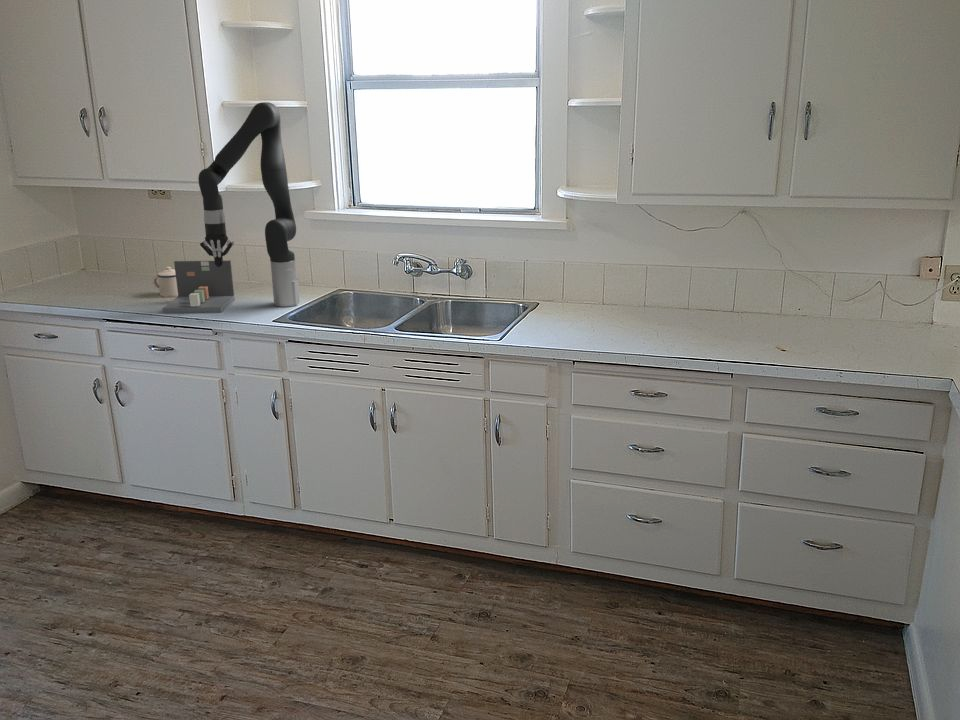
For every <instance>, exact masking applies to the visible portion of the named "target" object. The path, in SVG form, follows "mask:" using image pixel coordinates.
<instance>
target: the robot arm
mask: <svg viewBox="0 0 960 720" xmlns="http://www.w3.org/2000/svg"><path fill="white" fill-rule="evenodd" d="M281 126H282V125H281V112H280V110H279V108H278V107H277V106H276V105H275V104H274V103H271V102H269V101H265V102H258V103H256V104H255V105H254V106H253V107H252V109H251V110H250V112H249V114H248V116H247V117H246V118H245V121H244V122H243V124H242V125H241V126H240V128H239V129H238V131H236V133H235V134H234V135H233V136H232V137H231V139H230V140H229V141H228V142H227V143H226V144H225V145H224V146H223V148H221V149H220V150H219V152H218V153H217V154H216V155H215V157H214V160H213V162H211V164H210V165H209V166H207V167H206V168H204V169H202V170H200V172H199V174H198V177H197V178H198V186H199V191H200V193H201V197H202V204H203V222H204V230H205V231H204V232H205V237H204V240H203V241H202V242H200V244H199V246H200V247H201V248H202V249H203V250H204V251H205V253H206V254H207V255H208V256H210V257H211V256H212V257H213V258H214V260H213V261H215V265H217V267H221V266H222V265H223V260H224V259H223V257H224V256H226V255H227V254H228V253H229V252H230V250H231V249H232V247H233V246H234V244H235V241H231V240H229V237H228V236H227V228H226V218H225V217H226V216H225V213H224V204H223V203H224V202H223V198H222V195H221V193H220V192H219V186H218V185H219V184H221V183H222V182H223V180H224V179H225V178H226V177H227V175H228V173H229V172H230V170H232V168H233V167H234V166H235V165H236V164H237V163H238V162H239V161H240V160H241V159H242V157H243V156H244V155H245V153H246V151H247V150H248V148H249V146H250V145H251V144H252V143H253V141H254V140H255V139H256V138H257V137H258V136H259V135H260V136H261V151H260V173H261V180H262V185H263V187H264V190H265V191H266V192H267V194H268V196H269V198H270V199H271V201H272V204H273V208H274V216H275V217H274V218H275V219H274V218H273V219H271V220H269V221H268V222H267V223H266V225H265V226H264V237H265V245H266V251H267V255H268V257H269V259H270V260H269V261H270V271H271V272H270V274H271V284H272V294H273V295H272V296H273V305H274V306H275V307H293V306H297V305H298V304H299V303H300V293H299V292H300V290H299V281H298V278H297V273H296V259H295V257H296V256H295V252H294V251H292V250H290V249H289V245H288V242H290V241H291V240H293V239H294V238H295V237H296V234H297V225H296V220H295V215H294V211H293V208H292V207H293V206H292V202H291V197H290V196H291V194H290V191H289V190H290V189H289V179H288V172H287V166H286V162H285V161H286V160H285V155H284V154H285V153H284V149H283V143H282V133H281V130H282V128H281ZM225 245H226V248H225V249H224V247H225Z"/></svg>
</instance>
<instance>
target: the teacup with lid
mask: <svg viewBox="0 0 960 720" xmlns="http://www.w3.org/2000/svg"><path fill="white" fill-rule="evenodd" d="M156 275H157V276H155V277H154V278H153V284H154V286H155V288H157V289H159V294H160V297H163V298H174V297H175V298H177V297H178V290H177V282H176V273H175V268H172V267H171V266H165V268H164V269H163V270H161V271H160V272H158V273H156ZM157 280H158V282H157Z"/></svg>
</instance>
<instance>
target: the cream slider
mask: <svg viewBox="0 0 960 720" xmlns="http://www.w3.org/2000/svg"><path fill="white" fill-rule="evenodd" d="M189 299H190V306H199V305H200V297H199V293H191V294H189Z"/></svg>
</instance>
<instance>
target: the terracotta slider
mask: <svg viewBox="0 0 960 720" xmlns="http://www.w3.org/2000/svg"><path fill="white" fill-rule="evenodd" d="M198 290H204V297H205V299H208V298H209V293H208V286H206V287H199V288H198Z"/></svg>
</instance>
